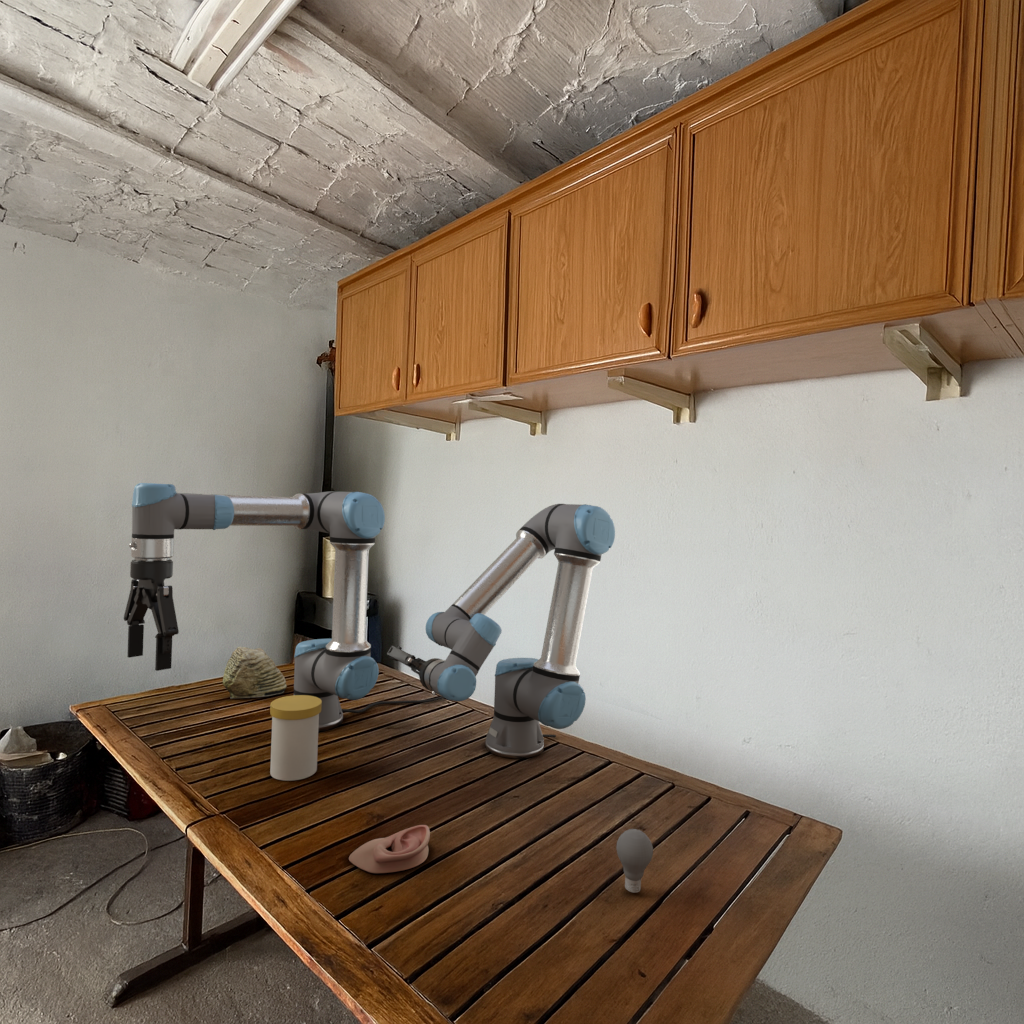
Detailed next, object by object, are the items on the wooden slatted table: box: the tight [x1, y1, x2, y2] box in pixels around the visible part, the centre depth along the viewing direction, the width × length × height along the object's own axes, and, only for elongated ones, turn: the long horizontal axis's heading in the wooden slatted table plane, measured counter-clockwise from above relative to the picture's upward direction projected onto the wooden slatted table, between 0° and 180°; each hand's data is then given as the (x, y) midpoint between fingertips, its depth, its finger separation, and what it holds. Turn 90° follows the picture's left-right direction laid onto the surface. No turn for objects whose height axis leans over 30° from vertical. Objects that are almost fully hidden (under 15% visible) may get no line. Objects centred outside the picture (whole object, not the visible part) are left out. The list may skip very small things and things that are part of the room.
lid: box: [269, 694, 322, 720], centre depth 145 cm, size 11×11×2 cm
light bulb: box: [615, 828, 654, 894], centre depth 106 cm, size 6×6×10 cm
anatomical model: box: [348, 824, 431, 874], centre depth 113 cm, size 13×4×12 cm
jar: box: [269, 714, 319, 782], centre depth 145 cm, size 10×10×15 cm
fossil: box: [222, 646, 288, 699], centre depth 198 cm, size 9×18×15 cm, turn 132°
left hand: (148, 662), depth 129 cm, fingers open, 13 cm apart
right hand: (414, 666), depth 166 cm, fingers open, 13 cm apart
